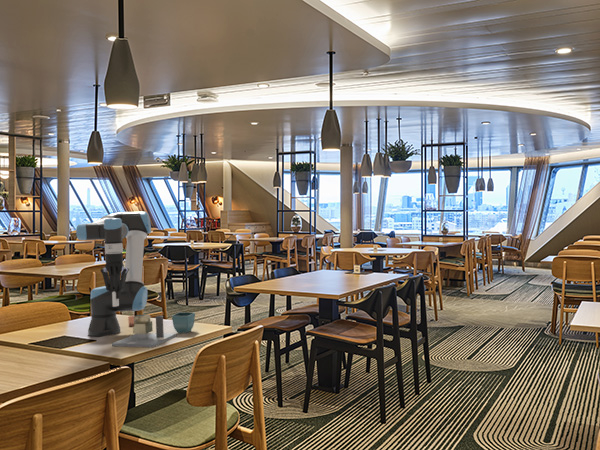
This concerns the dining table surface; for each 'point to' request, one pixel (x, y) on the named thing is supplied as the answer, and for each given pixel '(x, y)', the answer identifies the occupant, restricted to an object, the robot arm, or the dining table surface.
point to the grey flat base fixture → (146, 337)
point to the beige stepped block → (140, 324)
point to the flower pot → (183, 322)
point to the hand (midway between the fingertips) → (115, 306)
